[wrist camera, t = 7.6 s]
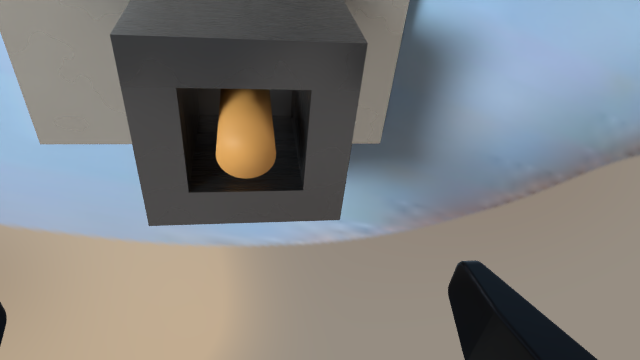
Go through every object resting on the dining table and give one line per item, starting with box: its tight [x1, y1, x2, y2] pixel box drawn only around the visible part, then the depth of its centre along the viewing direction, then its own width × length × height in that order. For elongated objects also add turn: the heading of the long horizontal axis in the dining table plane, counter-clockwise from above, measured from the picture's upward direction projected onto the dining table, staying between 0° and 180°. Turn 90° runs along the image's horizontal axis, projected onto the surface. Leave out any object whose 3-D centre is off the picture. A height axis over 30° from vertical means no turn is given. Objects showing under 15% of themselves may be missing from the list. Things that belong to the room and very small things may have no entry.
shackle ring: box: [110, 0, 368, 226], centre depth 14 cm, size 6×6×4 cm
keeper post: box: [216, 89, 276, 179], centre depth 14 cm, size 2×2×5 cm
